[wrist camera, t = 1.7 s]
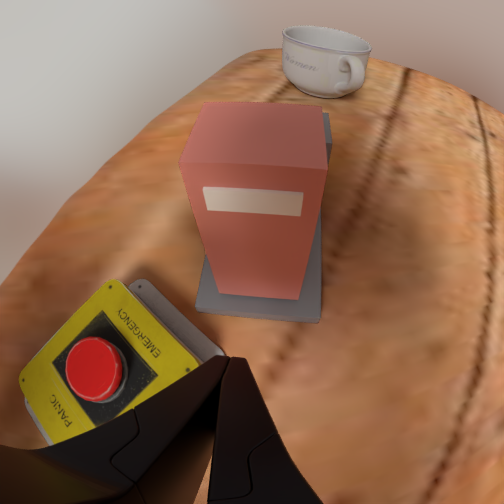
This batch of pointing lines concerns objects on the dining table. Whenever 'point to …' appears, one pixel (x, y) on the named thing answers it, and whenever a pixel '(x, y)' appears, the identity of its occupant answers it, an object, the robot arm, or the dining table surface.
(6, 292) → the dining table surface
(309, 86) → the teacup
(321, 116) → the pink tall block
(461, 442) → the dining table surface
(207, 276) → the bookend
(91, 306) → the emergency button
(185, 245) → the dining table surface
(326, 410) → the dining table surface
